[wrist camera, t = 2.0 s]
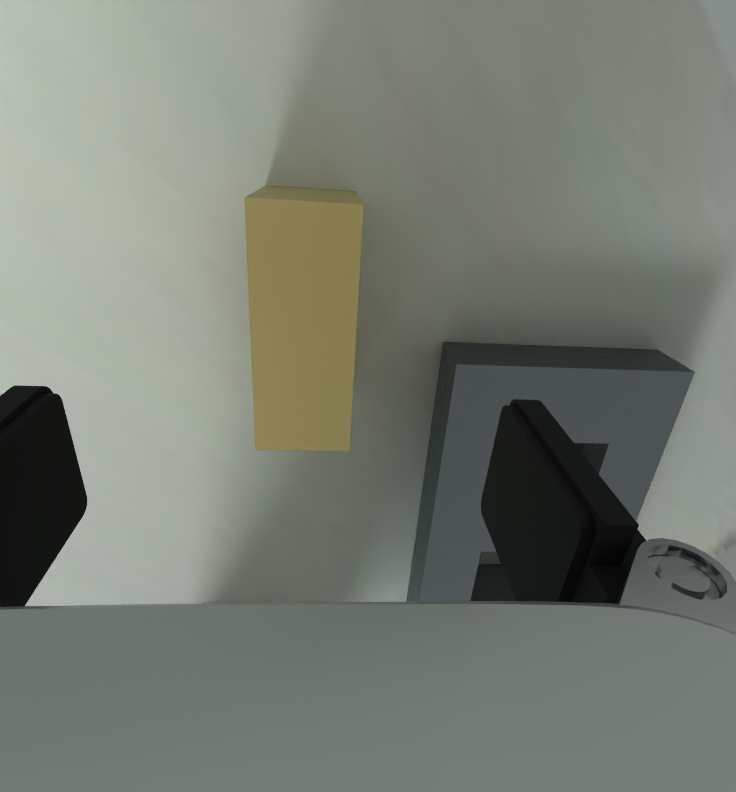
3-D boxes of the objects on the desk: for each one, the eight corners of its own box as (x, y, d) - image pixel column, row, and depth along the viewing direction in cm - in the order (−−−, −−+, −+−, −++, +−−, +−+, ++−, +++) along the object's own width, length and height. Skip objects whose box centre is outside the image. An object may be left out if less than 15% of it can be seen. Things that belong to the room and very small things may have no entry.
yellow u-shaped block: (345, 390, 27) (349, 451, 21) (270, 388, 26) (255, 450, 21) (355, 191, 22) (363, 204, 17) (265, 185, 22) (244, 197, 16)
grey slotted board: (568, 606, 36) (587, 643, 33) (405, 609, 34) (411, 648, 32) (658, 349, 27) (694, 372, 24) (443, 342, 26) (456, 364, 23)
